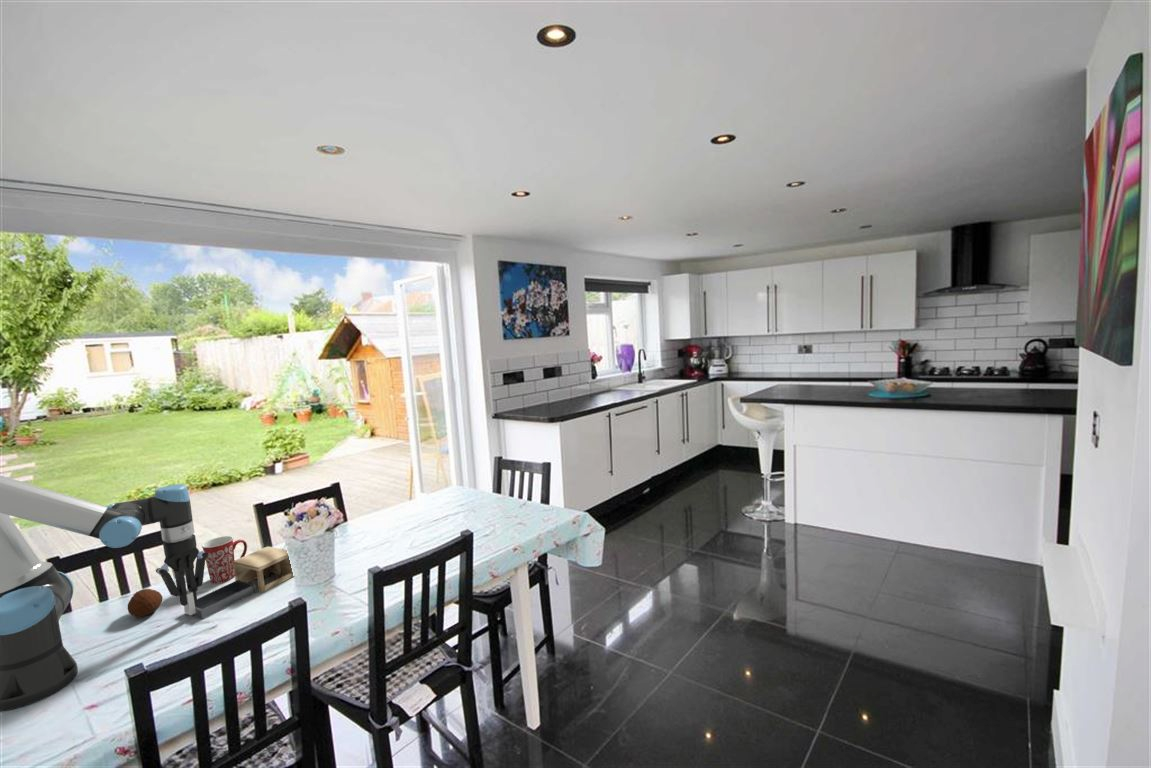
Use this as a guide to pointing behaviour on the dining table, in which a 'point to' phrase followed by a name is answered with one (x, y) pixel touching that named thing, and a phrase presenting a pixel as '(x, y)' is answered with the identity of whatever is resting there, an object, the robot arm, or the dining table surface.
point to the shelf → (264, 567)
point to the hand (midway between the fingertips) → (190, 613)
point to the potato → (144, 602)
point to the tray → (222, 598)
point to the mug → (221, 558)
